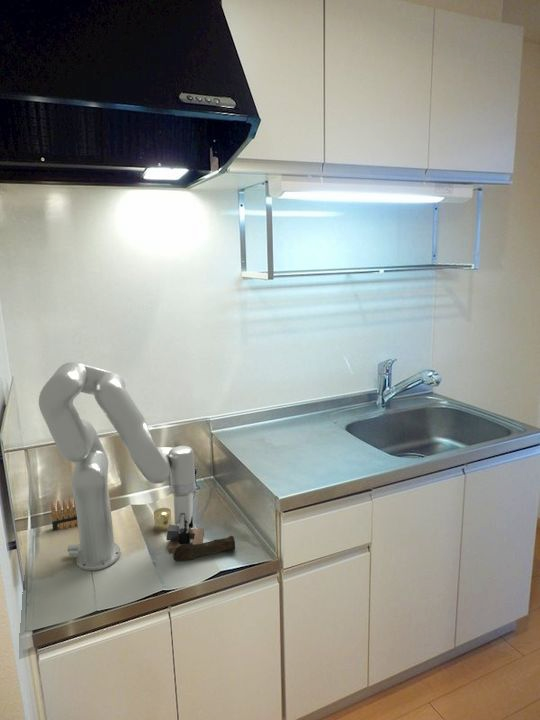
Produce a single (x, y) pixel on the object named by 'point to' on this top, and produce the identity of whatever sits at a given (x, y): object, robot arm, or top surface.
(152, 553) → the top surface
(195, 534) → the bore block
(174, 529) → the square bit
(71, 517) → the ammunition clip
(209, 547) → the dark brown log
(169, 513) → the olive gold rounded cube
